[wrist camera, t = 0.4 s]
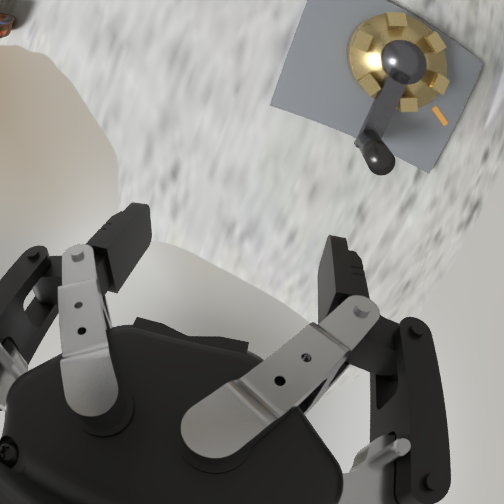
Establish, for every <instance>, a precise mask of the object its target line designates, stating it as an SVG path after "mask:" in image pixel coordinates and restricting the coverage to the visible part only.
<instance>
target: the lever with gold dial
mask: <svg viewBox="0 0 504 504" xmlns="http://www.w3.org/2000/svg"><path fill="white" fill-rule="evenodd" d="M445 48H446V45H445V44H444V42H443V41H442V39H441V38H440V36H439V34H438V33H437V32H436V31H433V32H432V31H431V30H430V29H429V28H428V27H427V26H426V25H425V24H423V23H422V22H420V21H419V20H417V19H415V18H413V17H411V16H408V15H406V14H405V13H401V12H385V14H380V15H376V16H372V17H370V18H367V19H366V20H364V21H362V22H361V23H360V24H358V26H357V27H356V28H355V29H354V30H353V32H352V33H351V35H350V37H349V40H348V43H347V50H346V56H347V63H348V67H349V70H350V72H351V74H352V76H353V78H354V80H355V81H356V83H357V84H358V85H359V86H360V87H361V89H363V90H364V91H365V92H366V93H367V94H368V95H369V96H371V97H372V98H374V101H373V103H372V106H371V108H370V110H369V112H368V114H367V117H366V119H365V121H364V123H363V125H362V127H361V130H360V132H359V134H358V136H357V138H356V140H355V142H354V144H355V146H356V147H358V148H359V149H360V151H361V153H362V155H363V157H364V159H365V161H366V163H367V165H368V167H369V169H370V170H371V171H372V172H373V173H374V174H376V175H386V174H388V173H390V172H391V171H392V170H393V168H394V166H395V157H394V155H393V154H392V152H391V151H390V150H389V148H388V147H387V146H386V144H385V143H384V142H383V140H382V137H383V135H384V133H385V131H386V128H387V126H388V124H389V122H390V120H391V118H392V116H393V114H394V112H395V110H396V109H399V111H400V112H418V108H420V107H423V106H425V105H427V104H428V103H430V102H431V101H432V100H434V99H435V98H436V97H437V96H438V94H439V93H440V94H442V95H444V93H445V90H446V88H447V86H448V84H449V82H450V80H448V79H447V78H446V75H447V61H446V56H445V52H444V50H443V49H445Z"/></svg>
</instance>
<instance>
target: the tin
mask: <svg viewBox="0 0 504 504" xmlns="http://www.w3.org/2000/svg"><path fill="white" fill-rule="evenodd" d="M14 19H15V18H14V16H12V15H8V14H3V13H0V38H2V37H6V36H8V35H9V33H10V31H11V28H12V24H13V21H14Z"/></svg>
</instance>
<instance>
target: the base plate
mask: <svg viewBox="0 0 504 504" xmlns="http://www.w3.org/2000/svg"><path fill="white" fill-rule="evenodd" d="M385 12H401V13H405V14H406V15H408V16H411V17H413V18H415V19H417V20H419V21H420V22H422V23H423V24H425V25H426V26H427V27H428V28H429V29H430V30H431V31H432V32H433V31H436V32H437V33H438V34H439V36H440V38H441V39H442V41H443V42H444V44H445V45H446V48H445V49H443V50H444V52H445V56H446V61H447V75H446V78H447V79H448V80H450V82H449V84H448V86H447V88H446V90H445V93H444V95H442V94H440V93H439V94H438V96H437V97H436V98H435V99H434V100H432V101H431V102H430V103H428V104H427V105H425V106H423V107H420V108H418V112H400V111H399V109H396V110H395V112H394V114H393V116H392V118H391V120H390V122H389V124H388V126H387V128H386V131H385V133H384V135H383V137H382V140H383V142H384V143H385V144H386V146H387V147H388V148H389V150H390V151H391V152H392V154H393V155H394V156H396V157H398V158H400V159H402V160H404V161H406V162H408V163H410V164H412V165H414V166H416V167H418V168H420V169H421V170H423V171H425V172H427V173H430V171H431V170H432V168H433V166H434V164H435V162H436V161H437V159H438V157H439V155H440V153H441V152H442V150H443V148H444V146H445V144H446V142H447V141H448V139H449V137H450V135H451V133H452V131H453V129H454V127H455V125H456V123H457V121H458V119H459V117H460V115H461V113H462V111H463V109H464V107H465V105H466V103H467V101H468V98H469V96H470V94H471V92H472V90H473V87H474V85H475V83H476V81H477V78H478V76H479V74H480V71H481V69H482V66H483V64H484V63H483V62H481V61H480V60H479V59H478V58H476V57H475V56H474V55H473V54H471V53H470V52H469V51H467V50H466V49H465V48H463V47H462V46H461V45H459V44H458V43H457V42H455V41H454V40H452V39H451V38H449V37H448V36H447V35H445V34H444V33H442V32H441V31H439V30H438V29H436V28H434V27H433V26H431V25H430V24H428V23H426V22H425V21H423V20H422V19H420V18H418V17H416V16H415V15H413V14H411V13H409V12H408V11H406V10H404V9H402V8H400V7H399V6H397V5H395V4H393V3H391V2H389V1H387V0H308V1H307V3H306V6H305V9H304V11H303V14H302V17H301V19H300V22H299V25H298V27H297V30H296V33H295V36H294V38H293V41H292V44H291V47H290V49H289V52H288V55H287V58H286V60H285V63H284V66H283V69H282V72H281V75H280V77H279V80H278V83H277V86H276V89H275V92H274V95H273V98H272V101H271V103H270V106H273V107H276V108H279V109H282V110H285V111H288V112H291V113H294V114H297V115H300V116H302V117H305V118H308V119H311V120H313V121H316V122H319V123H321V124H324V125H326V126H329V127H331V128H334V129H336V130H339V131H341V132H344V133H346V134H348V135H351V136H353V137H355V138H357V136H358V134H359V132H360V130H361V127H362V125H363V123H364V121H365V119H366V117H367V114H368V112H369V110H370V108H371V106H372V103H373V101H374V98H372V97H371V96H369V95H368V94H367V93H366V92H365V91H364V90H363V89H361V87H360V86H359V85H358V84H357V83H356V81H355V80H354V78H353V76H352V74H351V72H350V70H349V67H348V63H347V56H346V50H347V43H348V40H349V37H350V35H351V33H352V32H353V30H354V29H355V28H356V27H357V26H358V24H360V23H361V22H362V21H364V20H366V19H367V18H370V17H372V16H376V15H380V14H385Z"/></svg>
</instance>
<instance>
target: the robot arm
mask: <svg viewBox="0 0 504 504" xmlns="http://www.w3.org/2000/svg"><path fill="white" fill-rule="evenodd" d="M151 238H152V231H151V219H150V208H149V206H148V205H147V204H141V203H134V202H133V203H131V204H130V205H129V206H128V207H127V208H126V209H125V210H124V211H123V212H122V211H121V212H119V213H117V214H115V215H114V216H112V217H111V218H110V219H109V220H108V221H107V222H106V224H104V225H103V226H102V227H101V229H99V230H98V231H97V233H96V234H95V235H94V236H93V237H92V238H91V239H90V240H89V241H88V243H86V244H78V245H74V246H72V247H70V248H68V249H67V250H66V251H65V252H64V253H63V255H62V256H49V253H48V250H47V248H46V247H44V246H34V247H32V248H29V249H28V250H26V251H25V252H24V253H23V254H22V255H21V256H20V257H19V259H18V260H17V261H16V262H15V263H14V264H13V266H12V267H11V268H10V269H9V270H8V272H7V273H6V274H5V275H4V276H3V277H2V279H1V280H0V411H2V410H4V411H5V422H4V428H3V434H2V437H1V439H0V504H434V503H437V502H439V501H440V500H441V499H442V498H444V497H445V495H446V494H447V492H448V490H449V487H450V484H451V469H450V450H449V438H448V427H447V418H446V410H445V403H444V395H443V389H442V383H441V377H440V372H439V366H438V361H437V356H436V352H435V347H434V342H433V338H432V334H431V331H430V329H429V327H428V326H427V325H426V324H425V323H424V322H423V321H421V320H419V319H417V318H414V317H406V318H404V319H403V320H402V321H401V322H400V324H398V323H396V322H393V321H391V320H389V319H386V318H384V317H383V316H381V315H380V311H379V308H378V306H377V305H376V304H375V303H374V302H373V301H372V300H370V298H369V293H368V288H367V283H366V278H365V273H364V270H363V264H362V260H361V258H360V257H359V256H358V254H357V253H356V252H355V251H349V250H348V246H347V240H346V238H342V237H337V236H332V235H329V236H328V238H327V241H326V245H325V248H324V251H323V255H322V258H321V261H320V265H319V270H318V325H317V324H315V323H314V322H312V323H310V324H309V325H307V326H306V327H305V328H304V329H303V330H301V331H300V332H299V333H298V334H297V335H295V336H294V337H293V338H292V339H290V340H289V341H288V342H287V343H286V344H284V345H283V346H282V347H281V348H279V349H278V350H277V351H275V352H274V353H273V354H272V355H270V356H269V357H268V358H266V359H265V360H263V359H262V358H260V357H259V356H257V355H255V354H254V353H252V352H249V351H247V350H248V344H249V342H245V341H240V340H235V339H229V338H225V337H201V336H200V337H199V336H187V335H184V334H182V333H180V332H178V331H176V330H174V329H172V328H170V327H168V326H166V325H164V324H162V323H158V322H154V321H150V320H146V319H143V318H139V317H137V318H136V320H135V322H134V324H133V325H122V326H117V327H112V323H111V318H110V314H109V310H108V305H107V300H106V297H105V294H106V293H107V291H110V292H114V293H118V291H119V290H120V288H121V287H122V285H123V284H124V282H125V281H126V279H127V278H128V276H129V275H130V273H131V272H132V270H133V269H134V267H135V266H136V264H137V263H138V261H139V260H140V258H141V257H142V255H143V254H144V253H145V251H146V250H147V248H148V247H149V245H150V242H151ZM32 289H33V292H34V294H35V297H34V299H33V300H32V302H31V303H30V304H29V306H28V307H27V309H26V310H25V311H24V308H23V303H24V300H25V298H26V296H27V295H28V294H29V292H30V291H31V290H32ZM58 313H59V326H60V338H61V348H62V354H60V355H58V356H56V357H54V358H52V359H50V360H48V361H47V362H45V363H43V364H41V365H39V366H37V367H35V368H33V369H31V370H29V371H28V364H29V362H30V361H31V359H32V357H33V355H34V353H35V352H36V350H37V348H38V346H39V344H40V343H41V341H42V339H43V337H44V336H45V334H46V332H47V331H48V329H49V327H50V326H51V324H52V322H53V320H54V319H55V317H56V316H57V314H58ZM350 365H354V366H356V367H359V368H361V369H364V370H366V371H368V372H370V392H371V393H370V395H371V397H370V399H371V400H370V402H371V405H370V407H371V408H370V409H371V410H370V411H371V412H370V414H371V415H370V444H368V445H367V446H366V447H364V448H363V449H362V450H360V451H359V452H358V453H357V455H356V457H355V459H354V463H353V466H352V468H351V470H350V472H349V473H346V474H342V470H341V468H340V465H339V463H338V462H337V460H336V459H335V457H334V456H333V455H332V453H331V452H330V451H329V449H328V448H327V446H326V445H325V443H324V442H323V441H322V439H321V438H320V436H319V435H318V433H317V432H316V431H315V429H314V428H313V426H312V425H311V423H310V422H309V421H308V419H307V418H306V416H305V414H306V413H307V412H308V411H309V410H310V409H311V408H312V407H313V406H314V405H315V404H316V403H317V402H318V401H319V399H320V398H321V397H322V396H323V394H324V393H325V392H326V391H327V390H328V389H329V388H330V387H331V386H332V385H333V384H334V383H335V381H336V380H337V379H338V378H339V377H340V376H341V375H342V374H343V373H344V372H345V370H346V369H347V368H348V367H349V366H350Z"/></svg>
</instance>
